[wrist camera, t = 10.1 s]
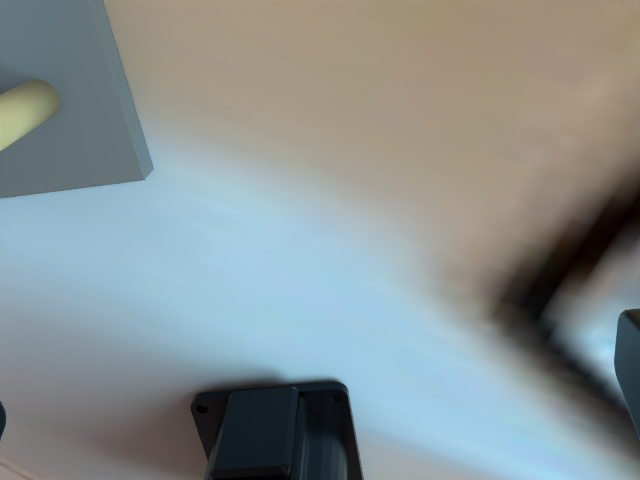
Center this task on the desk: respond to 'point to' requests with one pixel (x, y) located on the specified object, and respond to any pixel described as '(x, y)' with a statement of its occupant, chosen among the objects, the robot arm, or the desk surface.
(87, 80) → the pin cradle
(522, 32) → the desk surface
